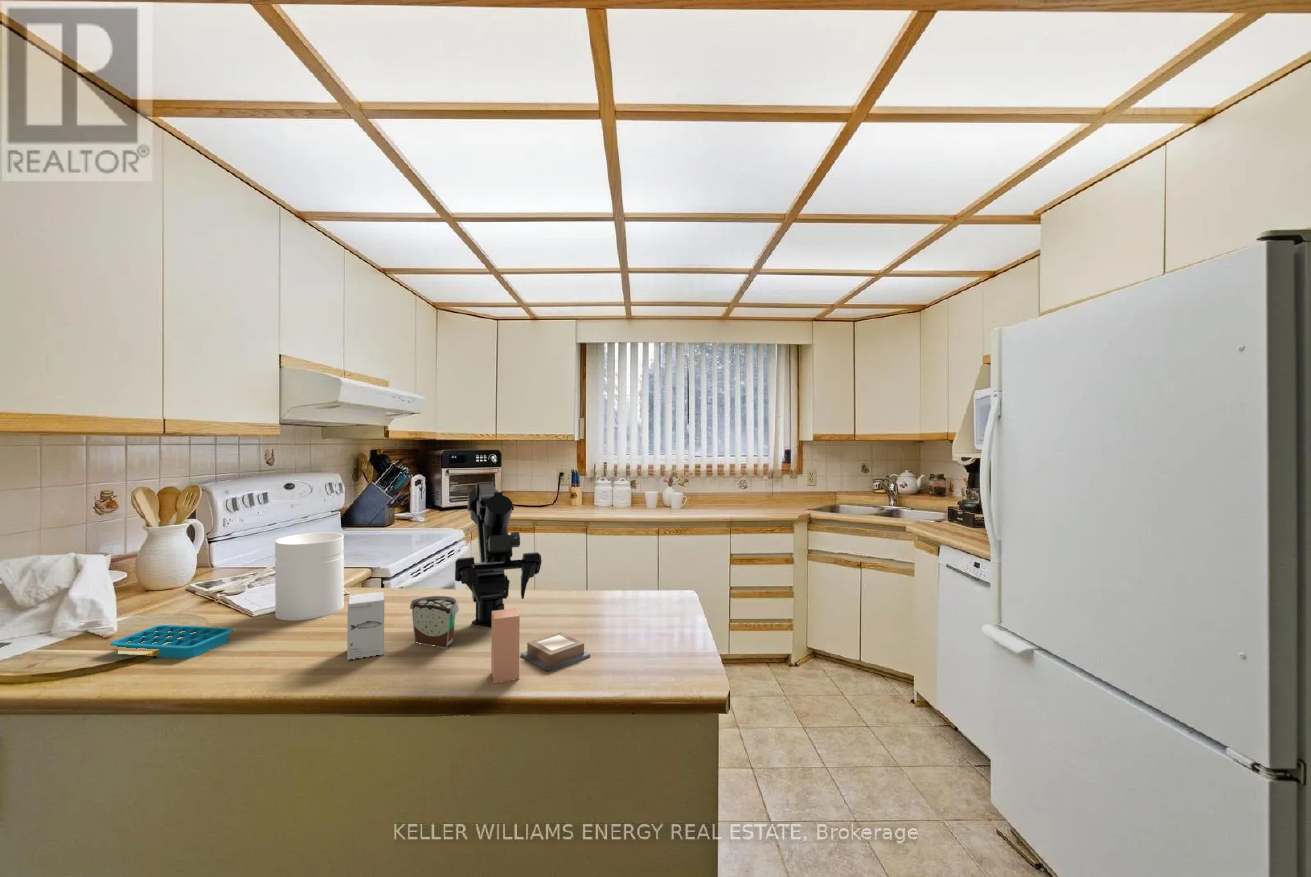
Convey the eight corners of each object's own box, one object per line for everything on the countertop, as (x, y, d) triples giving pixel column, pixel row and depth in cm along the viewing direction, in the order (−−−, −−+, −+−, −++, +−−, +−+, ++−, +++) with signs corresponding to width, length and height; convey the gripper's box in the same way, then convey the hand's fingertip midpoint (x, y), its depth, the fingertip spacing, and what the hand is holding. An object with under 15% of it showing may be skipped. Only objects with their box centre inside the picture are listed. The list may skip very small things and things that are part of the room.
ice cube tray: (159, 637, 131) (159, 624, 131) (236, 640, 129) (236, 628, 129) (106, 657, 119) (106, 643, 119) (190, 661, 118) (190, 648, 118)
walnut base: (520, 655, 122) (520, 642, 122) (561, 642, 129) (561, 629, 129) (548, 672, 114) (548, 657, 114) (590, 656, 122) (590, 642, 122)
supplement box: (346, 662, 118) (346, 604, 117) (348, 649, 124) (348, 594, 124) (384, 655, 121) (384, 599, 121) (384, 643, 128) (384, 590, 127)
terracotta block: (491, 672, 113) (491, 610, 113) (515, 669, 115) (516, 608, 115) (493, 683, 109) (494, 619, 108) (519, 679, 110) (519, 616, 110)
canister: (355, 607, 152) (355, 536, 152) (292, 625, 139) (292, 547, 138) (326, 597, 161) (325, 530, 160) (264, 612, 147) (263, 539, 147)
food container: (469, 640, 130) (470, 598, 130) (452, 649, 125) (452, 606, 124) (428, 633, 134) (428, 593, 134) (409, 642, 129) (409, 600, 128)
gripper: (455, 522, 120) (457, 586, 110) (540, 517, 127) (549, 577, 117) (454, 550, 127) (455, 612, 117) (534, 544, 134) (542, 602, 124)
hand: (501, 600), depth 119 cm, fingers open, 9 cm apart
